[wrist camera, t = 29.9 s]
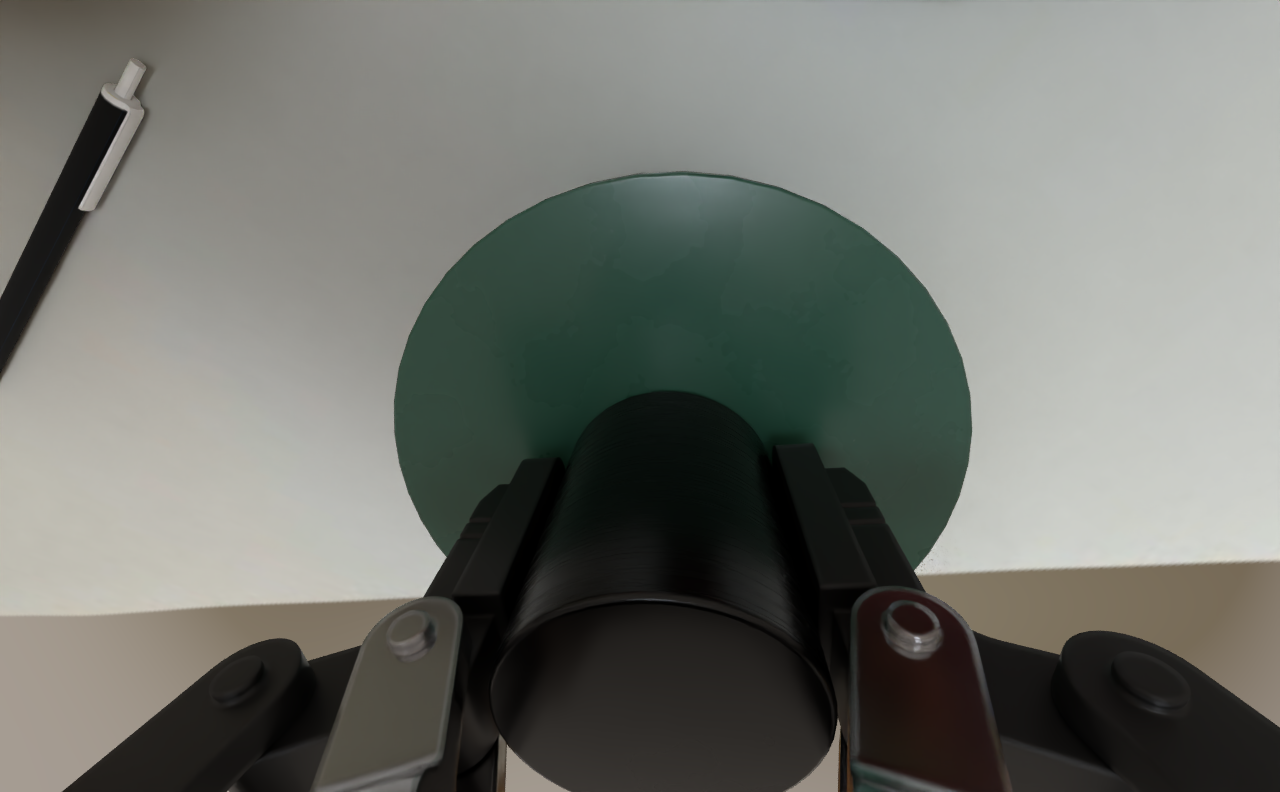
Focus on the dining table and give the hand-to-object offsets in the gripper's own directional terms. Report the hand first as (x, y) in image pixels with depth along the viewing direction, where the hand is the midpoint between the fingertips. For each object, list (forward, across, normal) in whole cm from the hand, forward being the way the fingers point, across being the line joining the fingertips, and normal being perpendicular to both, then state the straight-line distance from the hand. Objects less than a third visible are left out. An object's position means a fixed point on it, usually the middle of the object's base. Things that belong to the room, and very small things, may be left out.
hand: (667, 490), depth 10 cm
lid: (+1, 0, 0) cm, 1 cm away
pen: (+9, +24, -6) cm, 27 cm away
